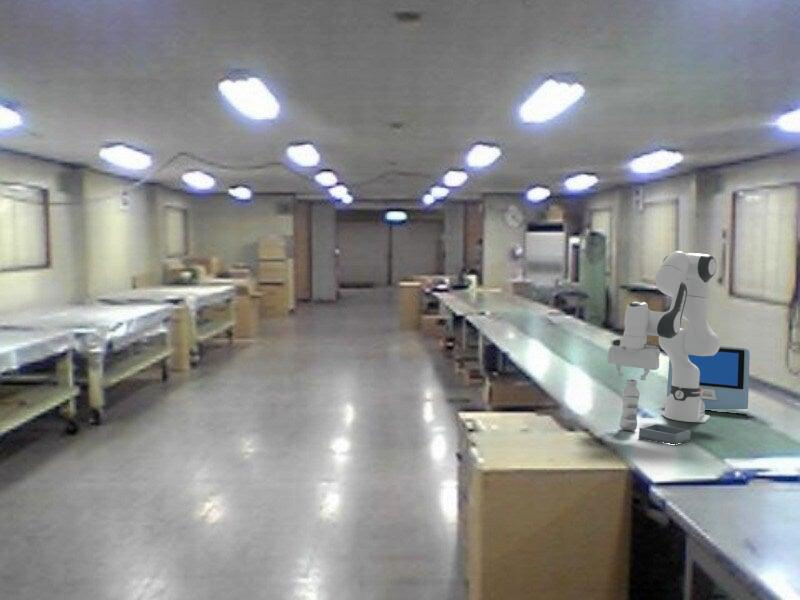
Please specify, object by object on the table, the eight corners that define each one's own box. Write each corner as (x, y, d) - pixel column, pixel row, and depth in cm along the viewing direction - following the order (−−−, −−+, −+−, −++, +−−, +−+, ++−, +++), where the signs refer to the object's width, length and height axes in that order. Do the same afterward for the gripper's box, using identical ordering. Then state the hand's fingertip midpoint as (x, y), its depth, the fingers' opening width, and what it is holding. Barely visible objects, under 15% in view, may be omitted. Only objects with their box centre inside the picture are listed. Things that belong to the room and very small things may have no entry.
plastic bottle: (623, 428, 315) (626, 378, 314) (639, 431, 311) (643, 380, 310) (616, 430, 310) (620, 379, 309) (632, 433, 306) (636, 382, 305)
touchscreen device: (666, 407, 369) (671, 343, 368) (665, 402, 387) (669, 341, 387) (747, 416, 359) (752, 350, 358) (742, 410, 377) (747, 347, 377)
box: (654, 433, 308) (655, 423, 308) (689, 440, 299) (690, 430, 298) (638, 438, 297) (639, 428, 297) (675, 446, 288) (676, 435, 288)
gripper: (663, 346, 304) (660, 381, 305) (614, 340, 318) (611, 374, 318) (656, 346, 300) (653, 382, 300) (606, 340, 313) (604, 375, 314)
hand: (631, 378), depth 309 cm, fingers open, 8 cm apart
